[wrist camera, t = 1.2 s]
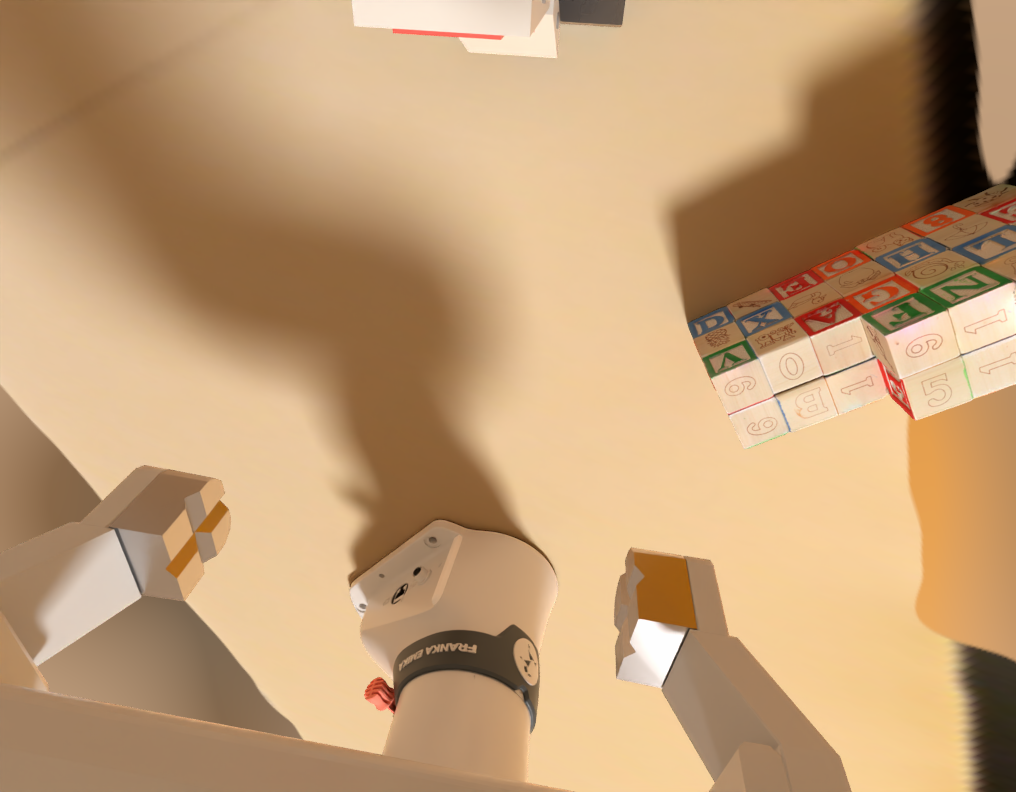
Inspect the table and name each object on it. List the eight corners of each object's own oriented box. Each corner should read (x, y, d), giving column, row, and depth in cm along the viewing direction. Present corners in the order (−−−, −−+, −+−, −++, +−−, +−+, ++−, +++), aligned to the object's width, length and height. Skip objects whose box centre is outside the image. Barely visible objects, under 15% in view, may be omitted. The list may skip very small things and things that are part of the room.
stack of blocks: (714, 386, 46) (753, 478, 36) (684, 321, 44) (717, 399, 33) (1020, 263, 39) (1182, 332, 29) (1003, 178, 37) (1173, 219, 26)
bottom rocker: (558, 62, 32) (554, 20, 25) (466, 56, 33) (435, 12, 25) (562, 25, 32) (559, -30, 24) (468, 19, 32) (437, -37, 24)
